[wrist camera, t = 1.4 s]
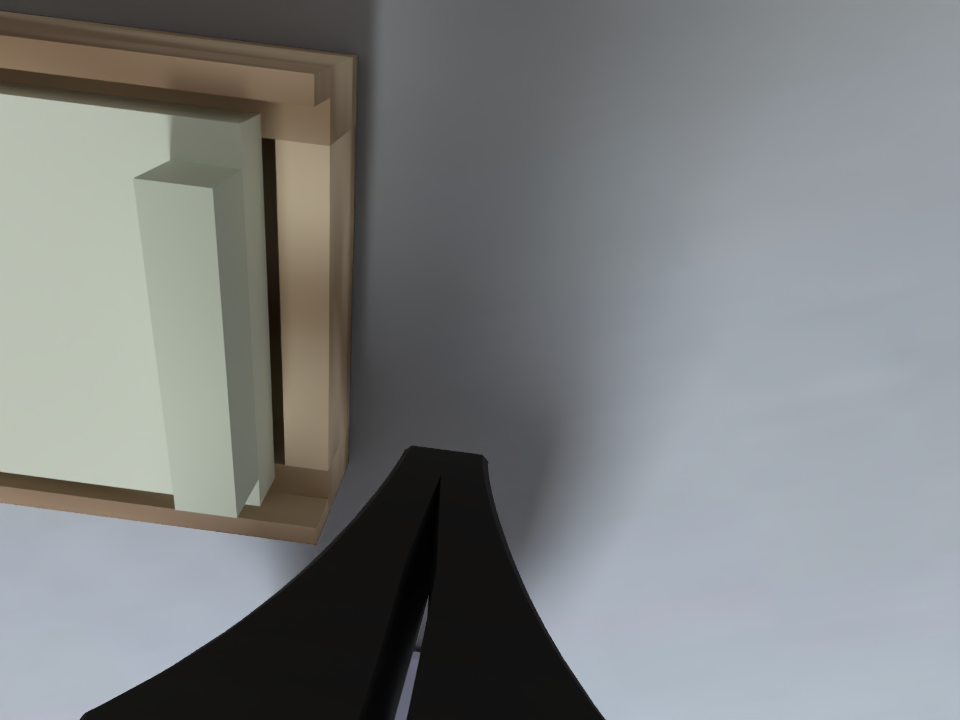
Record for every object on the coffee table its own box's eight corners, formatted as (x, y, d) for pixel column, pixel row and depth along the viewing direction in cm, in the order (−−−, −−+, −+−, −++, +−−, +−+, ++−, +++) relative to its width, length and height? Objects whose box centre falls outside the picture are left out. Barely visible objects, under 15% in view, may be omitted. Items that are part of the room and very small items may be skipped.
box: (348, 462, 23) (316, 544, 19) (-85, 405, 23) (-190, 477, 20) (358, 55, 17) (314, 74, 14) (-222, -17, 17) (-402, -15, 14)
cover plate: (274, 478, 20) (238, 546, 18) (-112, 427, 20) (-200, 487, 18) (260, 113, 15) (209, 138, 13) (-244, 50, 15) (-388, 64, 13)
